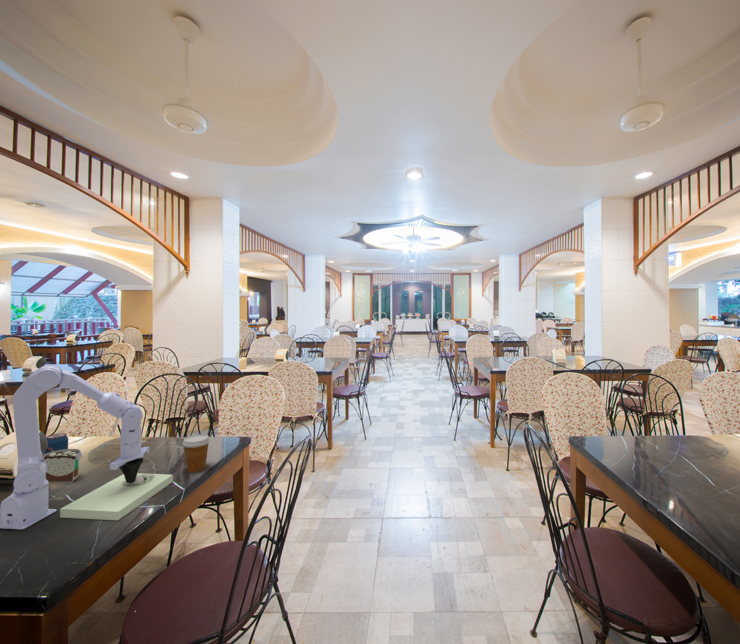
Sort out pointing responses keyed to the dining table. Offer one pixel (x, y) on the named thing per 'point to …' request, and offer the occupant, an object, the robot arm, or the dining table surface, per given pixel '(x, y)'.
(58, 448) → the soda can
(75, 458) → the food container
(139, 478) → the ball
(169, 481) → the putting deck
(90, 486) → the dining table surface
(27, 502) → the robot arm
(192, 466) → the disposable coffee cup
